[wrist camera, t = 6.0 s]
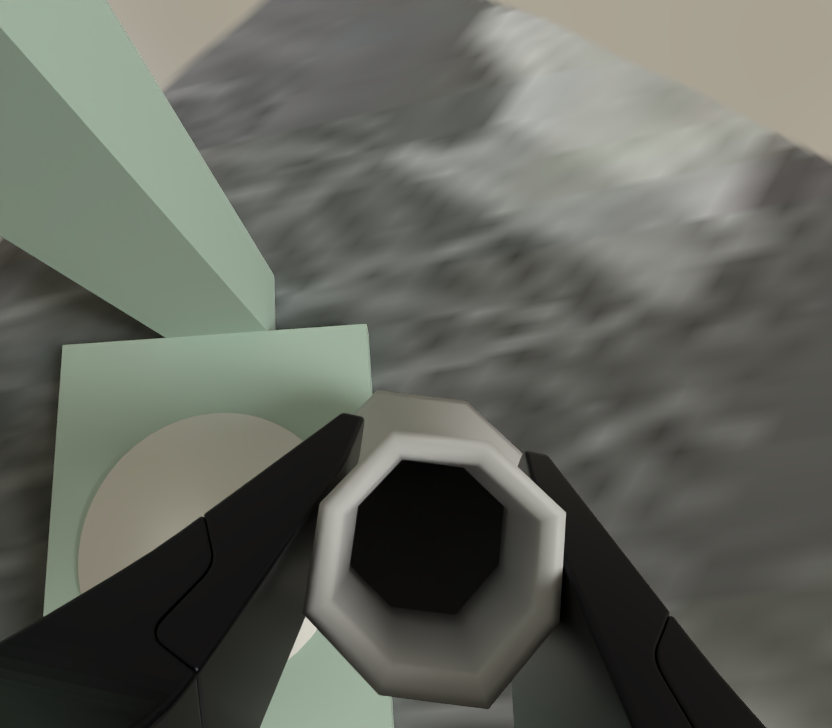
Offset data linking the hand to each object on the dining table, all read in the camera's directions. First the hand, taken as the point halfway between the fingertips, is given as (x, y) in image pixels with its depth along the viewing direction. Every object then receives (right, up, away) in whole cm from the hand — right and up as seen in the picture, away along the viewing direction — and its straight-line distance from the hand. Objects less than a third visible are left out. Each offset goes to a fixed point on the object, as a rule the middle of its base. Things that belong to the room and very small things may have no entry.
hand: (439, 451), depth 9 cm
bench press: (-8, -1, +12) cm, 15 cm away
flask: (0, -3, +7) cm, 8 cm away
